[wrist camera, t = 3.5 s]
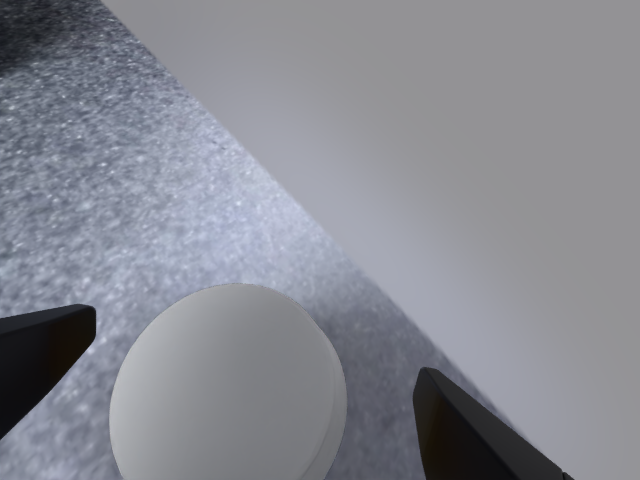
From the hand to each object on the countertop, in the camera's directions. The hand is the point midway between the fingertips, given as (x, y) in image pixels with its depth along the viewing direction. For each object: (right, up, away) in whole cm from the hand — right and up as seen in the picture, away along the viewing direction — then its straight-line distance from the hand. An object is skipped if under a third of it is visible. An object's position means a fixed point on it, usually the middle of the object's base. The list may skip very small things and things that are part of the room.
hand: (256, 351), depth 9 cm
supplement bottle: (-1, -5, +6) cm, 7 cm away
